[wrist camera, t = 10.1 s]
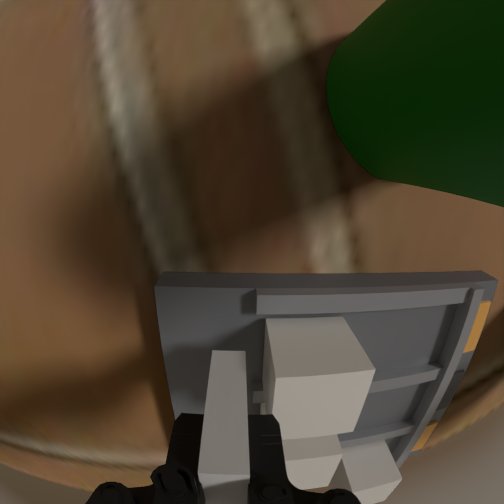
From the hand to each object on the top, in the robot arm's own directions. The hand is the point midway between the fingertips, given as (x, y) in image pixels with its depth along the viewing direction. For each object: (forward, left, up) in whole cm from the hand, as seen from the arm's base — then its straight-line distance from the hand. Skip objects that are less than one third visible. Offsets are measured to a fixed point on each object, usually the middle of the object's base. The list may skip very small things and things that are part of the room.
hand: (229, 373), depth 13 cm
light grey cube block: (+4, 0, -2) cm, 4 cm away
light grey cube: (+4, -6, -2) cm, 7 cm away
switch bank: (+7, -6, -4) cm, 10 cm away
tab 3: (+10, -12, -2) cm, 16 cm away
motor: (+9, +14, -4) cm, 17 cm away
